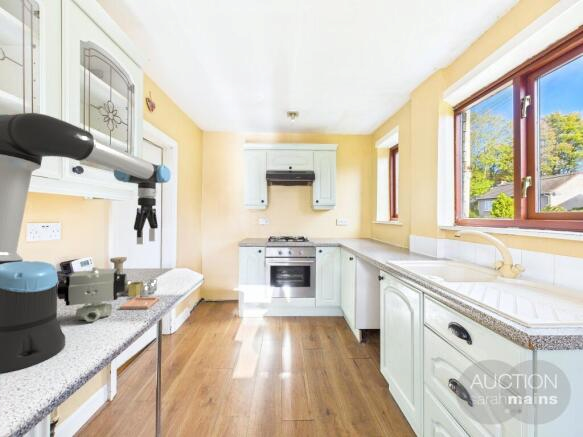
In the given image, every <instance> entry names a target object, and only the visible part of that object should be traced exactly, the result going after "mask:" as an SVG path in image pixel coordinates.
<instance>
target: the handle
mask: <svg viewBox="0 0 583 437" xmlns="http://www.w3.org/2000/svg"><path fill="white" fill-rule="evenodd" d="M127 259H128V257H127V256H117V257H116V256H115V257H111V258H110V262H111V263H113V269H120V272H121V273H122V274H124V262H126V261H127Z"/></svg>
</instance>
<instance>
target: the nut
mask: <svg viewBox="0 0 583 437" xmlns="http://www.w3.org/2000/svg"><path fill="white" fill-rule="evenodd" d="M141 286H144V281H133V282H132V281H131V283H129V285H128V293H127V294H128V297H139V296H140V287H141Z"/></svg>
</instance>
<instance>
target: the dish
mask: <svg viewBox="0 0 583 437" xmlns="http://www.w3.org/2000/svg"><path fill="white" fill-rule="evenodd" d="M159 301H160V297H158V296H157V297H156V296H155V297H153V296H152V297H149V296H148V297H139V296H135V297H133V298H131V299H130V300H128V301H126V302H125V303H123V304H122V305H120V307H119V310H149V309H150V308H152V307H153V305H155V304H156V303H158V302H159Z"/></svg>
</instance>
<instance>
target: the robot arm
mask: <svg viewBox="0 0 583 437" xmlns="http://www.w3.org/2000/svg"><path fill="white" fill-rule="evenodd" d="M44 157H61V158H68V159H71V160H75V161H79V162H80V161H81V162H82V161H88V162H91V163H93V164H96V165H100V166H103V167H106V168H109V169H111V170H113V176H114V179H115V180H117V181H119V182H123V183H128V184H129V183H130V184H136V185H137V197H138V198H137V205H138V206H140V207H136V215H135V220H134V224H133V229H134V231H136V245H145V242H144V241H145V240H144V239H145V230H144V226H145V223H146V220H147V221H148V226H149V228H148V229H149V230H148V241H149V242H156V229H158V226H159V225H158V219H157V209H156V208H154V207H156V206H157V199H156V196H157V195H156V194H157V192H158V191H157V184H163V183H168V182H170V180H171V169H170V168H169V167H168V166H167V165H163V164H158V165H157V164H154V163H152V162H150V161H147V160H145V159H143V158H141V157H138V156H135V155H133V154H131V153H130V152H127V151H125V150H122V149H120V148H118V147H116V146H113V145H111V144H108V143H107V142H105V141H102V140H100V139H98V138H95V137H94V135H93V134H92V133H91V132H89V131H87V129H83V128H81V127H80V126H77V125H74V124H72V123H70V122H68V121H65V120H62V119H60V118H56V117H54V116H50V115H47V114H43V113H37V112H26V113H25V112H24V113H14V114H7V113H5V114H4V113H1V114H0V374H1V373H8V372H13V371H17V370H22V369H25V368H28V367H30V366H33V365H36V364H39V363H42V362H45V361H46V360H48V359H50V358H52V357H54V356H56V355H58V354H59V353H61V351H62V350H64V348H65V347H66V336H65V333H64V332H63V331H62V327H61V325H60V324H59V321H58V296H57V287H58V283H59V277H58V271H57V267H56V266H55V265H53V264H52V263H49V262H44V261H37V260H36V261H29V260H23V259H24V258H22V257H21V256H20V255H19V253H17V250H18V244H19V240H20V235H21V230H22V224H23V219H24V214H25V209H26V205H27V204H26V203H27V200H28V194H29V188H30V184H31V178H32V173H33V172H34V171H37V170H39V169H41V167H42V160H43V158H44Z"/></svg>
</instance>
